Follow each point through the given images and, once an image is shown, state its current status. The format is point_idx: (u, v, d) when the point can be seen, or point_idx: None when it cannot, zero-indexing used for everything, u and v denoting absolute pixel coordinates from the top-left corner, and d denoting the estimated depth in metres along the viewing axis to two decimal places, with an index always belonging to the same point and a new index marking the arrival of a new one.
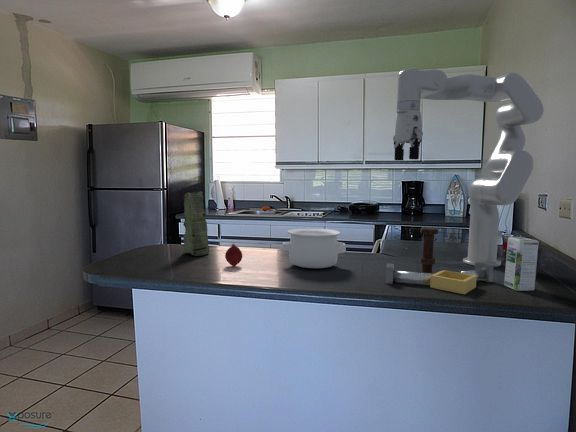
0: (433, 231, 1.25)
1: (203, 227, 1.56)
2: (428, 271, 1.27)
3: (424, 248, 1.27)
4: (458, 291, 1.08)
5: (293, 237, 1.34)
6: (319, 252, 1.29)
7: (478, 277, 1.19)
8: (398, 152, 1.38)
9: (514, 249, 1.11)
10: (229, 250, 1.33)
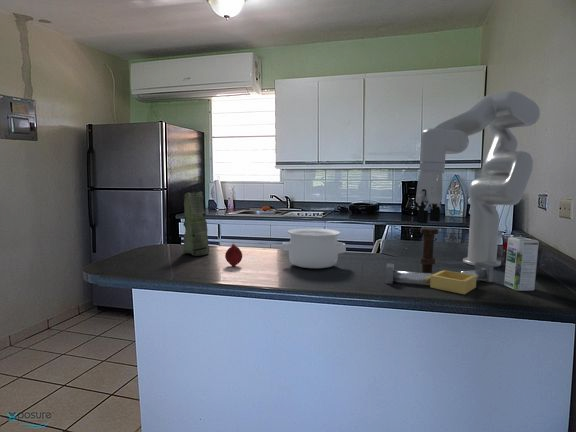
0: (433, 231, 1.25)
1: (203, 227, 1.56)
2: (428, 271, 1.27)
3: (424, 248, 1.27)
4: (458, 291, 1.08)
5: (293, 237, 1.34)
6: (319, 252, 1.29)
7: (478, 277, 1.19)
8: None
9: (515, 249, 1.11)
10: (229, 250, 1.33)
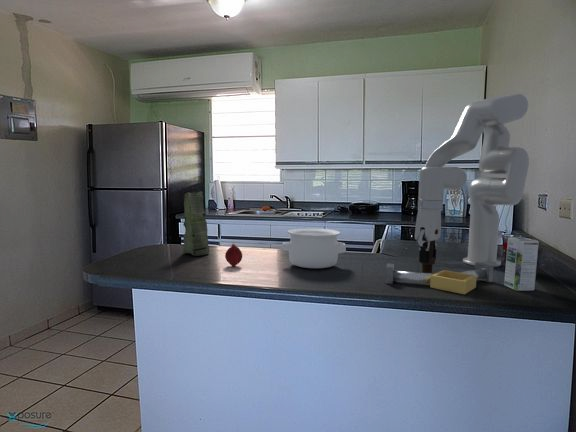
0: None
1: (203, 227, 1.56)
2: (428, 271, 1.27)
3: None
4: (458, 291, 1.08)
5: (293, 237, 1.33)
6: (319, 252, 1.29)
7: (478, 277, 1.19)
8: None
9: (514, 249, 1.11)
10: (229, 250, 1.33)
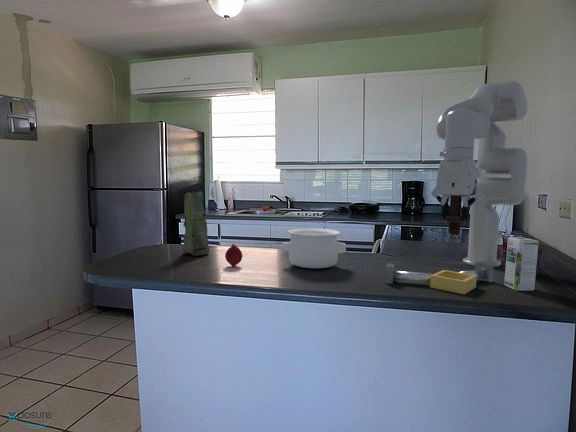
0: None
1: (203, 227, 1.56)
2: None
3: (459, 205, 1.11)
4: (458, 291, 1.08)
5: (293, 237, 1.34)
6: (319, 252, 1.29)
7: (478, 277, 1.19)
8: None
9: (514, 249, 1.11)
10: (229, 250, 1.33)
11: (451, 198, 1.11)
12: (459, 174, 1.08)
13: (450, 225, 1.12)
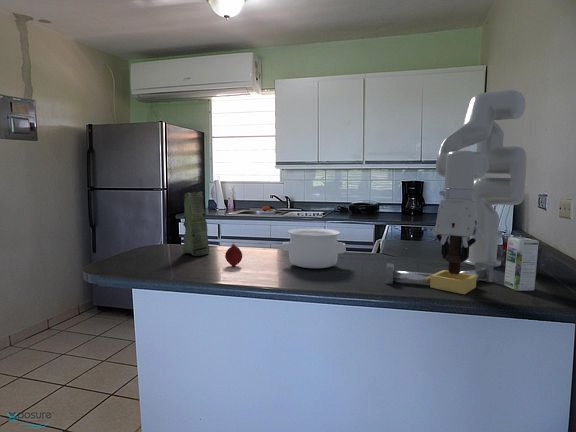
0: None
1: (203, 227, 1.56)
2: None
3: (459, 245, 1.11)
4: (458, 291, 1.08)
5: (293, 237, 1.34)
6: (319, 252, 1.29)
7: (478, 277, 1.19)
8: None
9: (514, 249, 1.11)
10: (229, 250, 1.33)
11: (451, 238, 1.11)
12: (459, 215, 1.08)
13: (450, 264, 1.12)
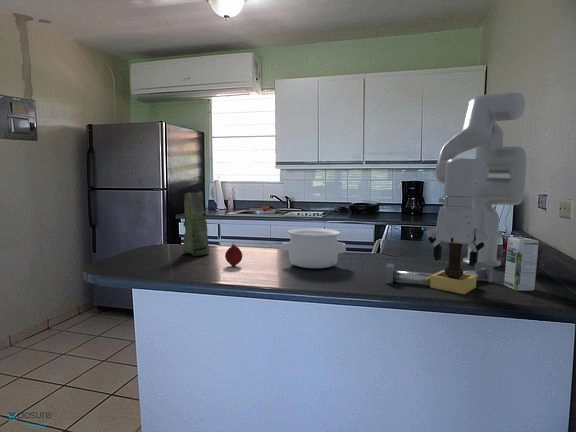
0: None
1: (203, 227, 1.56)
2: None
3: (458, 259, 1.11)
4: (458, 291, 1.08)
5: (293, 237, 1.34)
6: (319, 252, 1.29)
7: (478, 277, 1.19)
8: None
9: (514, 249, 1.11)
10: (229, 250, 1.33)
11: (450, 252, 1.12)
12: (459, 223, 1.08)
13: None
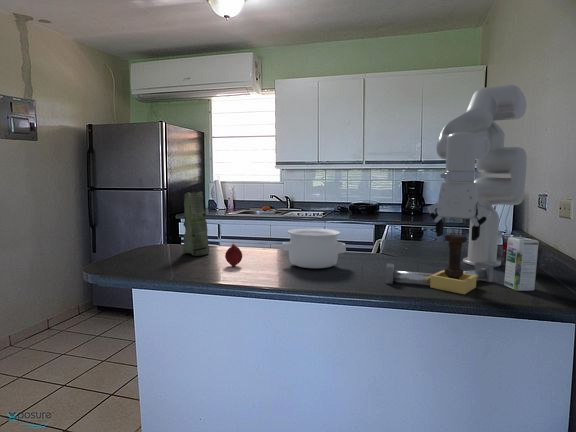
0: None
1: (203, 227, 1.56)
2: None
3: (457, 259, 1.11)
4: (458, 291, 1.08)
5: (293, 237, 1.34)
6: (319, 252, 1.29)
7: (478, 277, 1.19)
8: None
9: (514, 249, 1.11)
10: (229, 250, 1.33)
11: (450, 252, 1.12)
12: (460, 197, 1.08)
13: None
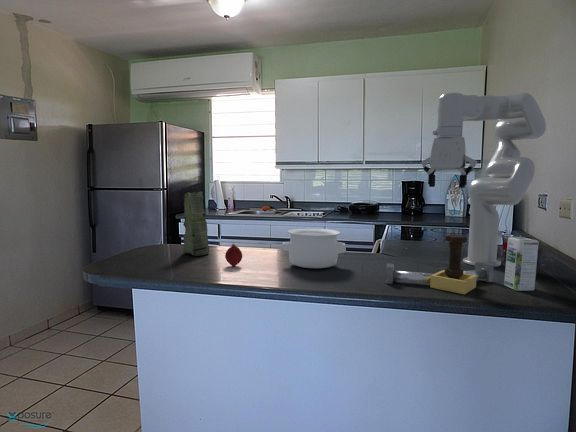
0: None
1: (203, 227, 1.56)
2: None
3: (458, 259, 1.11)
4: (458, 291, 1.08)
5: (293, 237, 1.34)
6: (319, 252, 1.29)
7: (478, 277, 1.19)
8: None
9: (514, 249, 1.11)
10: (229, 250, 1.33)
11: (450, 252, 1.12)
12: (450, 150, 1.23)
13: None
